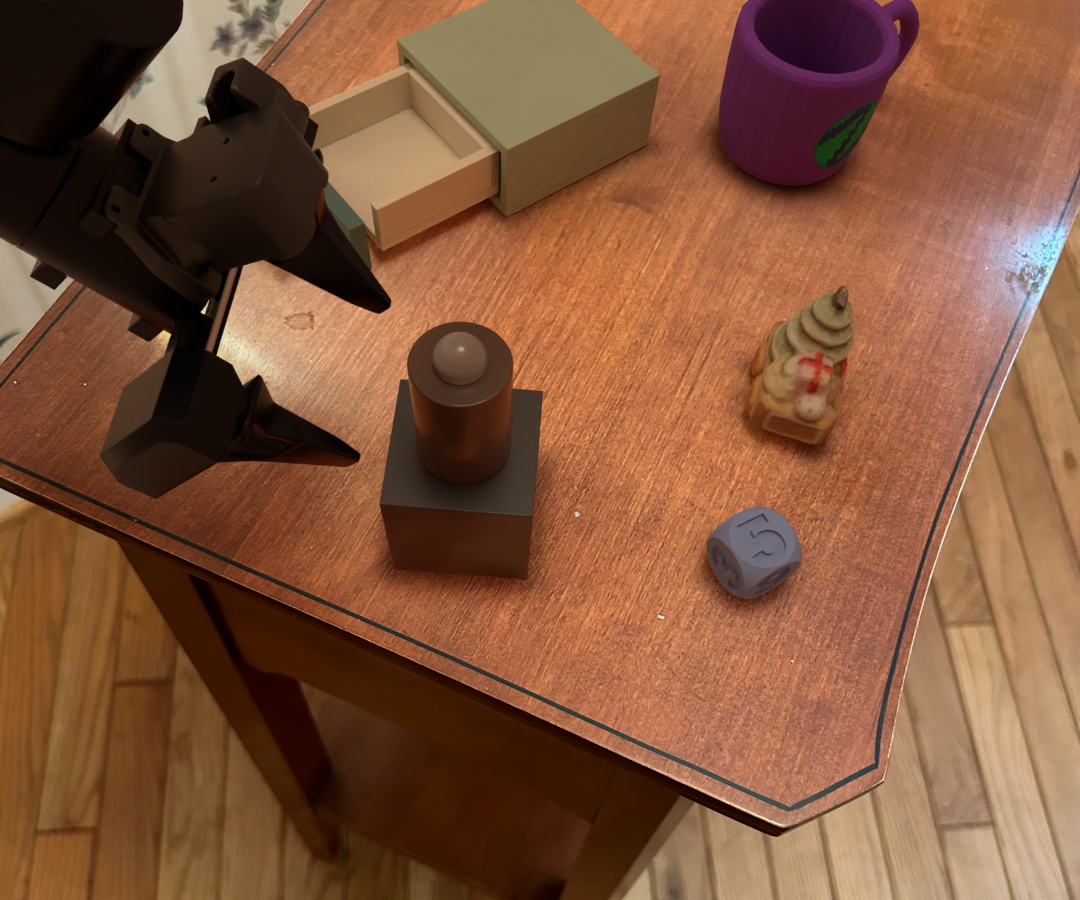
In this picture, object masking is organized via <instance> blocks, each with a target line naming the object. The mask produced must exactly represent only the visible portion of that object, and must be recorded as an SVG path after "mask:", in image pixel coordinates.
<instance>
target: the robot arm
mask: <svg viewBox="0 0 1080 900" xmlns="http://www.w3.org/2000/svg"><path fill="white" fill-rule="evenodd" d="M184 3H185V1H184V0H0V239H1V240H2V241H4V242H7V243H8V244H10V245H12V246H13V247H14V246H15V248H17V249H18V250H20V251H22V252H24V253H25V254H27V255H29V256H31V257H33V258H35V259H36V260H35V263H34V265H33V268H32V270H31V272H30V274H29V277H30V278H31V279H33V280H35V281H37V282H39V283H40V284H42V285H44V286H46V287H48V288H49V289H52V290H53V291H56V289H57V288H58V287H60V286H61V284H62V283H63V282H64V281H65V280H66V279H67V278H70V279H72V280H73V281H75V282H77V283H79V284H80V285H82V286H84V287H86V288H88V289H89V290H91V291H93V292H94V293H97V294H98V295H100V296H102V297H103V298H106V299H107V300H108V301H110V302H112V303H114V304H116V305H118V306H119V307H121V308H123V309H125V310H126V311H128V312H130V313H131V315H132V316H131V318H130V321H129V324H128V327H127V329H126V330H127V331H128V332H130V333H132V334H133V335H134V336H137V337H139V338H140V339H142V340H144V341H146V342H148V343H150V342H152V340H154V339H156V337H157V336H159V335H160V334H161V333H162V332H166V333H168V334H169V338H168V342H167V345H166V348H165V350H164V354H163V356H162V357H161V358H159V359H158V360H157V361H155V362H154V363H153V364H152V365H150V366H149V367H148V368H146V369H145V370H144V371H143V372H141V373H140V374H138V376H136V377H135V378H133V379H132V380H131V381H130V382H129V383H127V384H126V385H124V386H123V387H122V390H121V393H120V395H119V399H118V401H117V404H116V407H115V409H114V413H113V416H112V419H111V421H110V425H109V427H108V430H107V433H106V436H105V439H104V442H103V444H102V447H101V450H100V453H99V458H100V460H101V461H102V462H103V464H104V465H105V466H106V468H107V469H108V471H109V472H110V473H111V475H112V476H113V477H114V479H115V480H116V481H117V483H118V484H121V485H123V486H124V487H127V488H129V489H131V490H134V491H135V492H138V493H141V495H145V496H147V497H150V498H152V499H154V500H157V499H159V498H161V497H162V496H164V495H166V494H168V493H169V492H171V491H173V490H174V489H176V488H177V487H179V486H181V485H183V484H184V483H186V482H188V481H190V480H191V479H194V477H196V476H198V475H199V474H202V473H203V472H205V471H206V470H208V469H210V468H212V467H213V466H215V465H217V464H220V463H221V464H223V463H225V464H226V463H242V462H243V463H245V462H246V463H250V462H252V463H253V462H254V463H255V462H256V463H276V464H277V463H278V464H289V465H291V464H292V465H305V466H307V465H308V466H323V467H334V468H335V467H336V468H349V467H351V466H354V465H355V464H357V463H359V462H360V460H361V453H360V452H359V451H358V450H357V449H356V448H354V447H352V446H351V445H350V444H348V443H347V442H346V441H344V440H343V439H341V438H340V437H338V435H337V436H336V435H334V434H333V433H332V432H329V431H327V430H326V429H324V428H322V427H320V426H319V425H316V424H315V423H313V422H311V421H309V420H308V419H306V418H304V417H302V416H300V415H299V414H297V413H294V412H292V411H291V410H290V409H287V408H286V407H284V406H282V405H280V404H278V403H277V402H276V401H275V400H274V399H273V397H272V395H271V393H270V390H269V389H268V386H267V384H266V382H265V380H264V377H263V376H262V375H261V374H257V375H255V376H253V377H252V378H250V379H249V380H248V381H246V382H245V383H242V381H241V379H240V377H239V374H238V372H237V371H236V369H235V367H234V365H233V364H232V363H231V362H229V361H228V360H226V359H224V358H222V357H220V356H219V355H218V352H219V348H220V346H221V342H222V338H223V336H224V332H225V329H226V325H227V322H228V319H229V315H230V312H231V310H232V305H233V302H234V300H235V295H236V293H237V288H238V285H239V282H240V280H241V275H242V272H243V270H244V266H247V265H251V264H255V263H258V262H262V261H264V262H266V263H268V264H269V265H272V266H274V267H276V268H278V269H281V270H282V271H284V272H286V273H288V274H290V275H293V276H294V277H296V278H298V279H300V280H303V281H305V282H306V283H309V285H310V284H311V285H312V286H315V287H316V288H318V289H320V290H322V291H325V292H326V293H327V294H330V295H332V296H335V297H336V298H338V299H340V300H343V301H344V302H346V303H348V304H351V305H353V306H356V307H358V308H361V309H363V310H366V311H369V312H371V313H373V314H377V315H382V314H383V313H385V312H386V311H388V310H390V309H391V306H392V303H393V302H392V298H391V297H390V296H389V294H388V292H387V291H386V289H384V287H383V286H382V284H381V283H380V281H379V280H378V279H377V277H376V275H374V273H373V272H372V269H371V270H370V269H369V268H368V266H367V265H366V263H365V262H364V261H363V259H362V258H361V257H360V255H359V254H358V252H357V251H356V250H355V248H354V247H353V246H352V244H351V243H350V241H349V240H348V238H347V237H346V235H345V234H344V232H343V231H342V229H341V228H340V226H339V225H338V223H337V221H336V220H335V218H334V216H333V215H332V213H331V212H330V210H329V208H328V206H327V204H326V200H325V192H324V188H326V186H327V182H328V178H329V174H328V171H327V169H326V168H325V167H324V165H323V164H324V157H323V154H322V152H321V150H320V149H319V148H317V149H315V150H312V148H313V144H314V141H315V137H316V134H317V130H318V126H319V125H318V124H317V123H315V122H314V121H313V120H312V119H310V118H309V115H310V111H309V108H308V107H309V106H307V104H306V103H304V102H303V101H302V100H300V99H295V98H294V97H293V95H292V94H291V92H290V91H289V90H288V89H287V87H286V86H285V85H284V84H283V83H281V82H280V81H279V80H277V79H276V78H274V77H273V76H272V75H270V74H269V73H267V72H265V71H264V70H263V69H261V68H260V67H258V66H256V65H255V64H254V63H252V62H251V61H249V60H247V59H246V58H245V57H240V58H236V59H234V60H231V61H229V62H226V63H224V64H221V65H219V66H216V68H215V69H214V72H213V75H212V78H211V80H210V83H209V85H208V89H207V92H206V94H205V98H204V103H205V106H206V110H207V113H208V116H207V115H204V116H201V117H198V118H197V121H196V123H195V127H194V130H193V132H192V134H190V135H189V136H187V137H184V138H183V139H180V140H178V141H177V140H173V139H171V138H169V137H166V136H164V135H163V134H161V133H159V132H158V131H157V130H155V129H154V128H153V127H152V126H150V125H148V124H146V123H143V122H142V123H136V122H135V121H134V120H132V119H131V118H129V117H127V119H126V120H125V121H124V122H123V124H122V125H121V126H120V127H119V128H118V130H117V131H116V132H115V133H114V134H113V133H112V132H111V131H109V130H108V129H106V128H105V127H103V126H102V125H101V124H102V123H103V122H104V121H105V120H106V119H107V117H108V116H109V115H110V113H112V111H113V110H114V109H115V108H116V106H117V105H118V104H119V103H120V101H121V100H122V99H123V98H124V97H125V95H126V94H127V93H128V92H129V91H130V89H131V88H132V87H133V86H134V84H135V83H136V82H137V81H138V80H139V78H140V77H141V76H142V75H143V74H144V73H145V71H146V70H147V69H148V68H149V66H150V65H151V64H152V62H154V60H155V59H156V58H157V56H158V55H160V53H161V52H162V51H163V49H164V48H165V47H166V46H167V44H168V43H169V42H170V41H171V39H173V37H174V36H175V35H176V34H177V32H178V31H179V29H180V28H181V25H182V23H183V19H184ZM205 308H206V309H205ZM204 309H205V312H203V310H204ZM202 312H203V313H202Z"/></svg>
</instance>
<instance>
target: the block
mask: <svg viewBox="0 0 1080 900" xmlns="http://www.w3.org/2000/svg"><path fill="white" fill-rule="evenodd" d="M543 400H544V390H536V389H526V388H525V389H524V388H514V387H513V394H512V423H511V449H510V454H509V457H508V459H507V461H506V463H505V465H504V466H503V467H502V469H501V470H500V471H499V472H498V473H496V474H495V475H494V476H492V477H491V478H489V479H487V480H485V481H482V482H479V483H476V484H470V485H458V484H452V483H448V482H445V481H443V480H441V479H439V478H437V477H435V476H434V475H433V474H431V473H430V472H429V471H428V470H427V469H426V468H425V466H424V465H423V463H422V462H421V459H420V457H419V454H418V448H417V441H416V433H415V425H414V418H413V410H412V403H411V395H410V387H409V380H408V378H407V379H406V378H405V379H404V378H400V379H399V384H398V390H397V396H396V401H395V408H394V414H393V419H392V426H391V431H390V432H391V433H390V436H389V444H388V450H387V457H386V462H385V468H384V474H383V481H382V485H381V486H382V487H381V493H380V499H379V503H378V504H379V509H380V513H381V518H382V522H383V526H384V531H385V535H386V541H387V545H388V549H389V553H390V558H391V562H392V567H393V569H394V570H403V571H415V572H416V571H418V572H430V573H440V574H441V573H442V574H453V575H455V574H456V575H465V576H467V575H468V576H477V577H490V578H503V579H513V580H514V579H516V580H528V579H529V569H530V558H531V547H532V546H531V545H532V533H533V521H534V511H535V499H536V498H535V496H536V485H537V473H538V460H539V448H540V436H541V423H542V412H543Z"/></svg>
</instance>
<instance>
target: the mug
mask: <svg viewBox="0 0 1080 900" xmlns="http://www.w3.org/2000/svg"><path fill="white" fill-rule="evenodd" d="M897 21H899V31H898V27H897V25H896V23H895V22H897ZM920 25H921V23H920V16H919V11H918V9H917V7H916V5H915V4H914V2H913V0H890V1H889V2H887V3H885V4H884V5H881V4H880V3H879V2H878V1H876V0H746V1H745V3H743V5H742V6H741V8H740V11H739V14H738V16H737V19H736V23H735V27H734V31H733V35H732V39H731V43H730V46H729V50H728V55H727V59H726V65H725V70H724V75H723V81H722V85H721V91H720V97H719V104H718V136H719V139H720V142H721V144H722V147H723V149H724V152H725V154H726V155H727V156H728V157H729V159H730V160H731V161H732V162H733V164H735V165H736V166H737V167H739V168H740V169H741V170H742V171H744V172H745V173H747V174H748V175H750V176H752V177H755V178H756V179H759V180H761V181H764V182H766V183H771V184H775V185H779V186H780V185H781V186H790V187H791V186H792V187H793V186H794V187H795V186H803V185H811V184H814V183H817V182H820V181H822V180H825V179H827V178H829V177H830V176H831V175H832V174H834V173H835V172H837V171H838V170H839V169H840V168H841V167H843V165H844V164H845V162H846V161H847V159H848V158H849V157H850V156H851V154H852V153H853V152H854V150H855V148H856V147H857V145H858V144H859V142H860V141H861V139H862V137H863V135H864V134H865V132H866V131H867V128H868V126H869V123H870V122H871V121H872V120H871V119H872V118H873V116H874V113H875V111H876V109H877V107H878V105H879V103H880V101H881V100H882V97H883V95H884V93H885V91H886V88H887V85H888V83H889V81H890V79H891V78H892V76H893V75H894V74H895V73H896V71H898V69H899V68H900V66H901V65H902V64H903V62H904V61H905V59H906V57H907V56H908V54H909V52H910V51H911V49H912V47H913V46H914V44H915V42H916V41H917V38H918V34H919V29H920Z"/></svg>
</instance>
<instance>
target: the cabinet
mask: <svg viewBox="0 0 1080 900" xmlns="http://www.w3.org/2000/svg"><path fill="white" fill-rule="evenodd" d="M396 45H397V56H398V57H397V58H398V65H399V66H398V67H401V66H403V65H405V64H407V63H410V62H411V63H412V64H413V65H414V66H415V67H416V68H417V69H418V70H419V71H420V72H421V73H422V74H423V75H424V76H425V77H426V78H427V79H428V80H429V81H430V82H431V83H432V84H433V85H434V86H435V87H436V88H437V89H438V90H439V91H440V92H441V93H442V94H443V95H444V96H445V97H446V98H447V99H448V100H449V101H450V102H451V103H452V104H453V105H454V106H455V107H456V108H457V109H458V110H459V111H460V112H461V113H462V114H463V115H464V116H465V117H466V118H467V119H468V120H469V121H470V122H471V123H472V124H473V125H474V126H475V127H476V128H477V129H478V130H479V131H480V132H481V133H482V134H483V135H484V136H485V137H486V138H487V139H488V140H489V141H490V142H491V143H492V144H493V145H494V146H495V147H496V148H497V149H498V150H499V192H498V193H497V194H495V195H493V196H491V197H489V198H487V199H488V200H489V201H490V202H491V203H492V204H493V205H494V207H495V208H497V209H498V210H499V212H500V213H502V214H503V216H504V217H505V218H509V217H510V216H512V215H514V214H517V213H518V212H520V211H521V210H524V209H526V208H527V207H529V206H531V205H533V204H535V203H537V202H539V201H541V200H543V199H544V198H546V197H548V196H550V195H552V194H555V193H556V192H558V191H560V190H562V189H564V188H566V187H568V186H570V185H572V184H573V183H576V182H578V181H580V180H582V179H583V178H585V177H587V176H589V175H591V174H593V173H595V172H597V171H599V170H601V169H603V168H605V167H607V166H609V165H610V164H612V163H614V162H616V161H618V160H620V159H622V158H624V157H626V156H627V155H630V154H631V153H633V152H635V151H637V150H639V149H642V148H644V147H645V146H647V145H649V138H650V133H651V127H652V122H653V116H654V110H655V104H656V98H657V93H658V89H659V84H660V78H661V74H660V73H659V72H657V70H655V69H654V68H653V67H652V66H651V65H649V63H648V62H646V61H645V60H643V58H641V57H640V56H639V55H638V54H636V52H635V51H633V50H632V49H631V48H630V47H629V46H628V45H626V44H625V43H624V42H623V41H622V40H621V39H619V37H617V35H616V34H614V33H613V32H612V31H611V30H609V29H608V28H607V27H606V26H605V25H603V24H602V23H601V22H600V21H599V20H598V19H597V18H596V17H595V16H593V15H592V13H590V12H589V11H588V10H586V9H585V8H584V7H583V6H582V5H581V4H579V3H578V2H577V1H576V0H486V1H483V2H480V3H478V4H476V5H474V6H472V7H469V8H467V9H465V10H463V11H460V12H457V13H455V14H453V15H450V16H447V17H446V18H444V19H441V20H438V21H437V22H434V23H432V24H430V25H428V26H427V25H426V26H425V27H422V28H420V29H418V30H415V31H412V32H410V33H409V34H406V35H404V36H401V37H400V38H397V39H396Z"/></svg>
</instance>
